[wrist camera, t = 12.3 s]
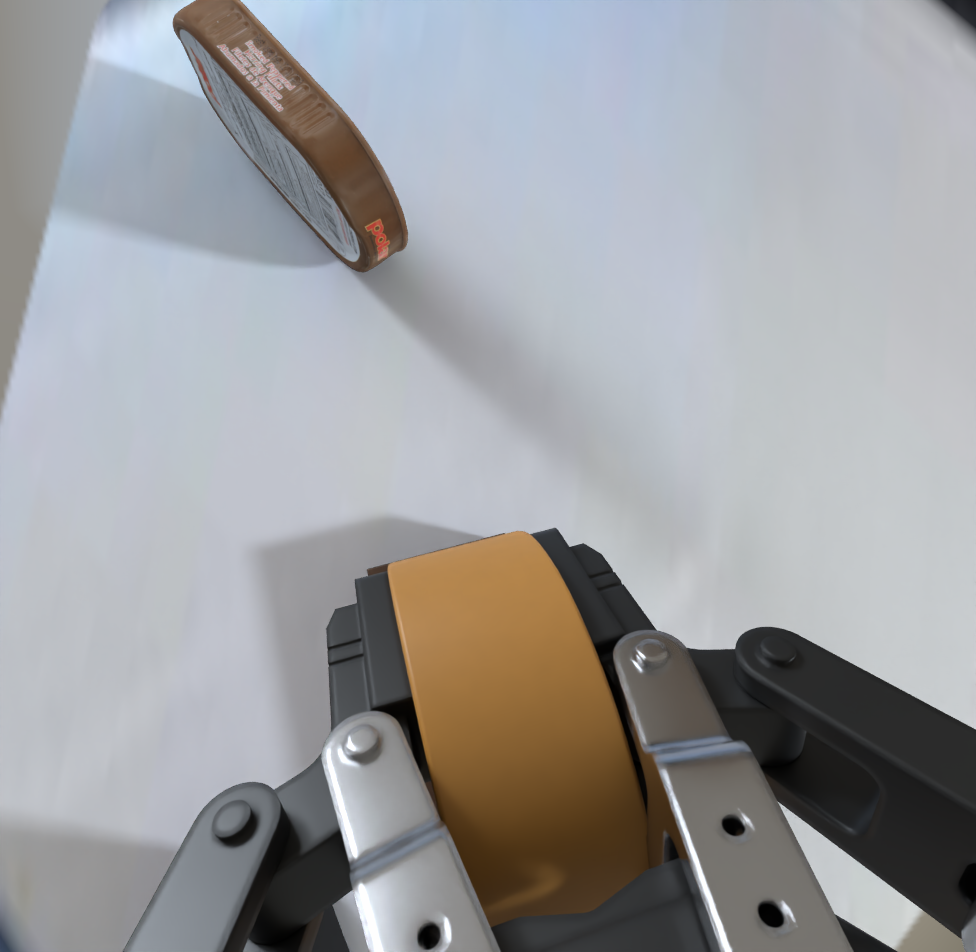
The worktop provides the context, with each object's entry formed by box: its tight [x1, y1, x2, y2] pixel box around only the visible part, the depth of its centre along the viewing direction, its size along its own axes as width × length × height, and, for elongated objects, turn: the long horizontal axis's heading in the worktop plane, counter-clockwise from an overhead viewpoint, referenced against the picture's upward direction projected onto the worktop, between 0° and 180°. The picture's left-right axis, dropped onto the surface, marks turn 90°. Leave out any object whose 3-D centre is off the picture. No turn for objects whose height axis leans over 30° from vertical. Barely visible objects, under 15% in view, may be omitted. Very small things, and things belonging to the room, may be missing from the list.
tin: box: [173, 0, 408, 272], centre depth 30 cm, size 15×3×8 cm, turn 41°
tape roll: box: [388, 531, 649, 927], centre depth 13 cm, size 3×8×8 cm, turn 16°
